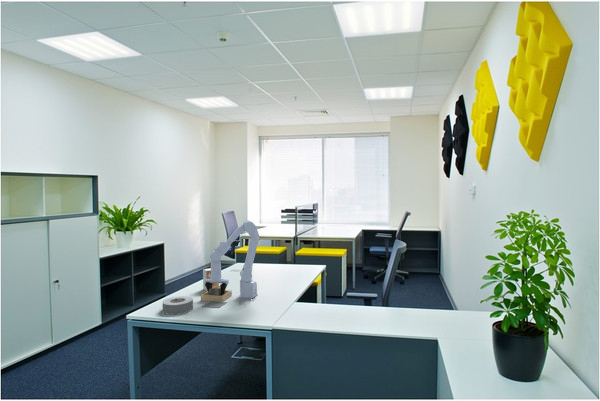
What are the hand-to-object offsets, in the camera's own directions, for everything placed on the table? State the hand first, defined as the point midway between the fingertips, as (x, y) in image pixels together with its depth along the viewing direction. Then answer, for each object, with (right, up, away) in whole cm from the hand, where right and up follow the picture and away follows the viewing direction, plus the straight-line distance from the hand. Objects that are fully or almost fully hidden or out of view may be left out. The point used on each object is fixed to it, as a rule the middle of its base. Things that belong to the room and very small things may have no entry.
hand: (216, 295), depth 217 cm
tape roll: (-16, -3, -18) cm, 25 cm away
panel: (+2, -2, -13) cm, 13 cm away
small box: (-8, -2, +21) cm, 22 cm away
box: (0, -1, 0) cm, 1 cm away
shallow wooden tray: (0, -2, 0) cm, 2 cm away
